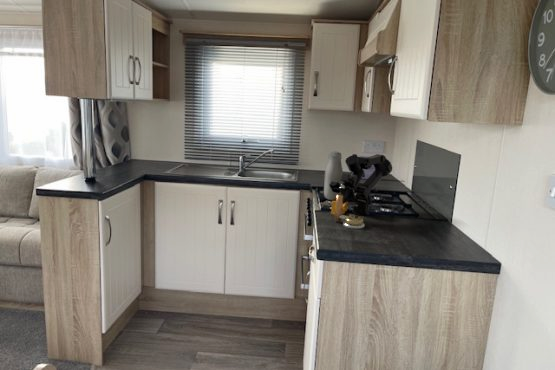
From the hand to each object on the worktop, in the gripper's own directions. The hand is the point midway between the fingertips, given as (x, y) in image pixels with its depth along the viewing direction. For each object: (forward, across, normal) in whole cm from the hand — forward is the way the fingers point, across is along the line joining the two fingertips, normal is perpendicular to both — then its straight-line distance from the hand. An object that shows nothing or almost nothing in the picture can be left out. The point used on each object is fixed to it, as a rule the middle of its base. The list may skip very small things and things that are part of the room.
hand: (341, 204), depth 185 cm
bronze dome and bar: (+6, +5, +4) cm, 9 cm away
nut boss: (+7, +8, +5) cm, 12 cm away
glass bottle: (-19, -26, +31) cm, 45 cm away
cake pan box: (-80, -46, +92) cm, 131 cm away
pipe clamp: (-4, -8, +16) cm, 19 cm away
